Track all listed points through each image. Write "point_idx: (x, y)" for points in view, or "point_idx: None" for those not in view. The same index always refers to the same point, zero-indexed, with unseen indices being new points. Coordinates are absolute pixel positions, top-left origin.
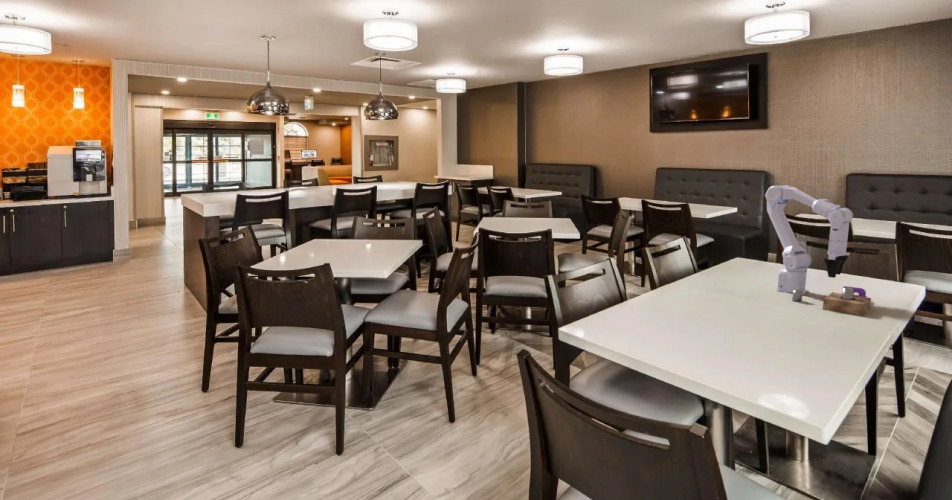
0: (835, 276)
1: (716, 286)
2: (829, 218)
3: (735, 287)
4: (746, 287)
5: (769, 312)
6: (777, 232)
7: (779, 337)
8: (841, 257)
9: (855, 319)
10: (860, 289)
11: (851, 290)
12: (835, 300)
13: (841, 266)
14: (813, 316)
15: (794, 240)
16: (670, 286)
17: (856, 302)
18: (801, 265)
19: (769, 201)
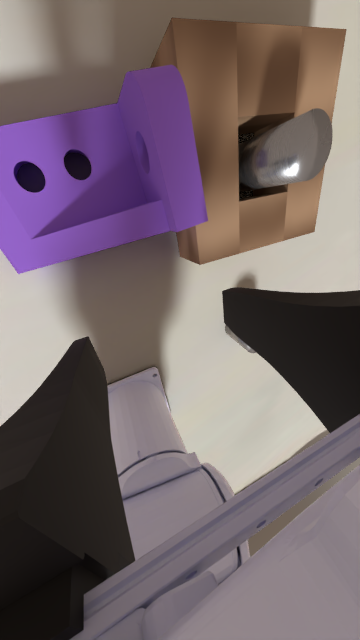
0: (229, 290)
1: (230, 459)
2: None
3: (211, 451)
4: (194, 450)
5: (357, 289)
6: None
7: None
8: (80, 524)
9: (346, 80)
10: (186, 99)
11: (323, 117)
12: (320, 186)
13: (81, 380)
14: (356, 208)
15: None
16: (276, 461)
17: (322, 84)
18: (186, 488)
19: None
